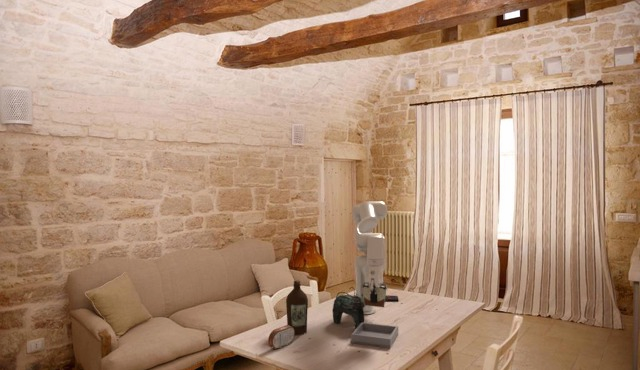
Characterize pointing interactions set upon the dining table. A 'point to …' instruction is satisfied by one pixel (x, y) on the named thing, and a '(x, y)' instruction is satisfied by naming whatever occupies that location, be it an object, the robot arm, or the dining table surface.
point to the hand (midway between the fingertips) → (375, 300)
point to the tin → (281, 336)
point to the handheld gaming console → (391, 298)
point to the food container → (380, 295)
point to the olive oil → (297, 309)
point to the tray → (375, 335)
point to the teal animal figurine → (349, 308)
